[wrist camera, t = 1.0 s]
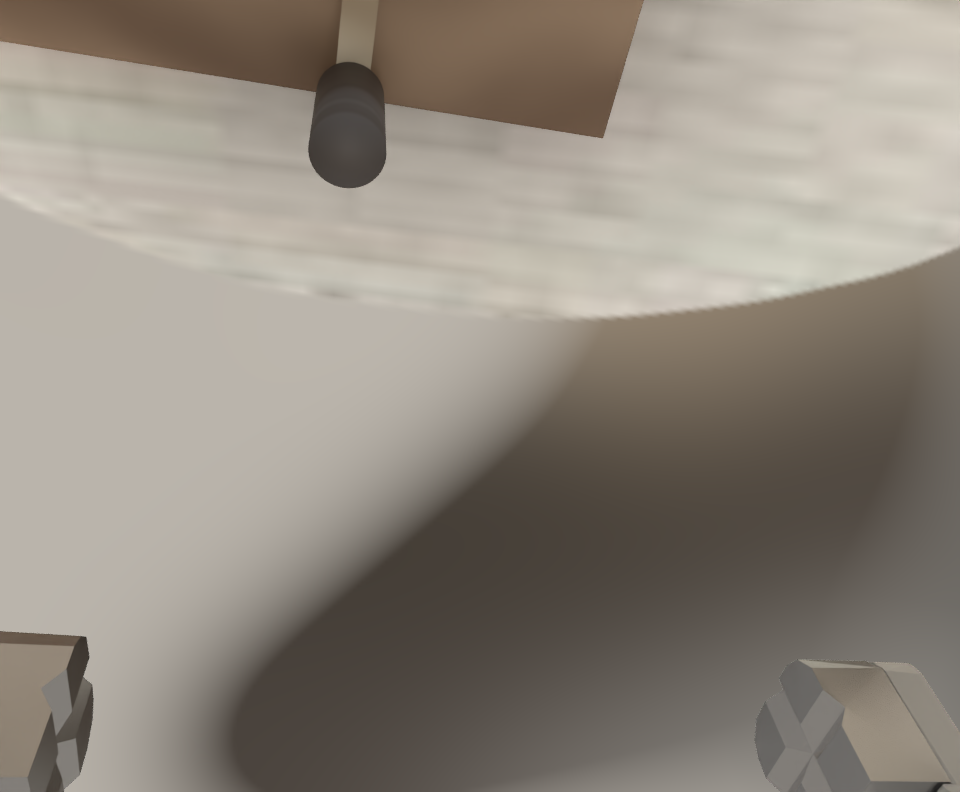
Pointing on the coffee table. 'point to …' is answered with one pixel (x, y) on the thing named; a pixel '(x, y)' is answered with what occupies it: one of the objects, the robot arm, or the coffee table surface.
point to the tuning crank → (350, 105)
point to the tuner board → (396, 52)
